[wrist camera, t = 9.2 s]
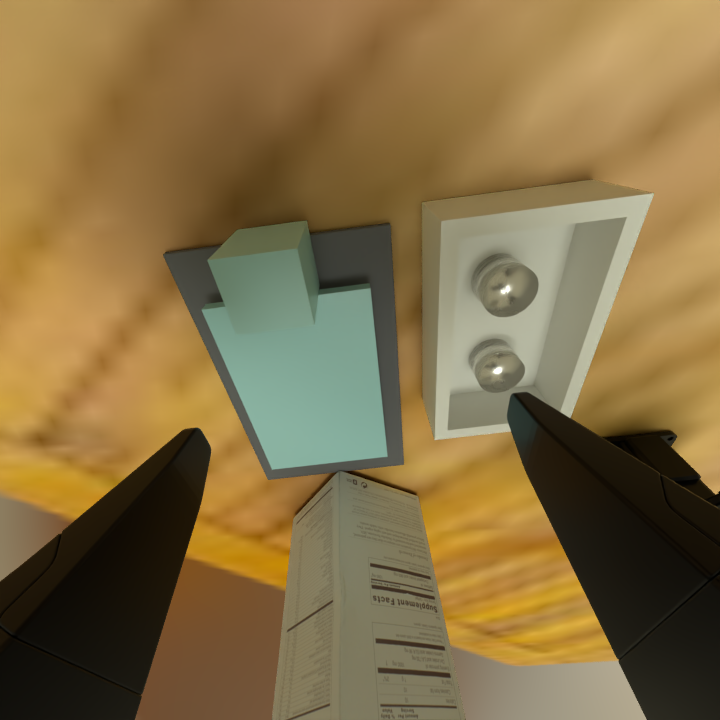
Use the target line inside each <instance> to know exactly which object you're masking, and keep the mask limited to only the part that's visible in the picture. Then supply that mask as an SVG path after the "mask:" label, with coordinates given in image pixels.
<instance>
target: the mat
mask: <svg viewBox="0 0 720 720" xmlns="http://www.w3.org/2000/svg"><path fill="white" fill-rule="evenodd" d="M310 238H311V243H312V249H313V254H314V259H315V264H316V269H317V274H318V279H319V284H320V287H319V290H320V289H328V288H335V287H343V286H351V285H359V284H367V283H370V288H371V298H372V308H373V318H374V328H375V338H376V347H377V357H378V367H379V377H380V387H381V397H382V407H383V416H384V426H385V436H386V446H387V456H388V457H380V458H371V459H362V460H353V461H344V462H335V463H327V464H318V465H309V466H300V467H291V468H282V469H273V470H272V468H271V466H270V464H269V461H268V459H267V457H266V455H265V452H264V450H263V448H262V446H261V443H260V441H259V439H258V437H257V434H256V432H255V430H254V428H253V425H252V423H251V421H250V418H249V416H248V414H247V412H246V409H245V407H244V405H243V403H242V400H241V398H240V396H239V394H238V391H237V389H236V387H235V385H234V382H233V380H232V378H231V376H230V373H229V371H228V369H227V367H226V364H225V362H224V360H223V357H222V355H221V353H220V351H219V348H218V346H217V344H216V342H215V339H214V337H213V335H212V333H211V330H210V328H209V326H208V324H207V321H206V319H205V317H204V315H203V312H202V308H203V307H204V306H205V304H210V303H218V302H223V299H222V297H221V294H220V292H219V289H218V286H217V284H216V281H215V279H214V276H213V274H212V271H211V269H210V266H209V263H208V261H207V260H208V259H209V258H210V257H211V256H212V255H213V254H214V253H215V252H216V251H217V250H218V249H219V248H220V247H221V246H222V245H218V246H210V247H203V248H195V249H187V250H180V251H172V252H166V253H165V254H163V256H164V258H165V260H166V263H167V265H168V267H169V269H170V271H171V273H172V275H173V278H174V280H175V282H176V284H177V286H178V288H179V290H180V293H181V295H182V297H183V299H184V301H185V303H186V305H187V307H188V310H189V312H190V314H191V316H192V318H193V320H194V322H195V325H196V327H197V329H198V331H199V333H200V335H201V337H202V340H203V342H204V344H205V346H206V348H207V350H208V352H209V355H210V357H211V359H212V361H213V363H214V365H215V367H216V370H217V372H218V374H219V376H220V378H221V380H222V382H223V384H224V387H225V389H226V391H227V393H228V395H229V397H230V399H231V402H232V404H233V406H234V408H235V410H236V412H237V414H238V417H239V419H240V421H241V423H242V425H243V427H244V429H245V432H246V434H247V436H248V438H249V440H250V442H251V444H252V447H253V449H254V451H255V453H256V455H257V457H258V459H259V462H260V464H261V466H262V468H263V470H264V472H265V474H266V476H267V479H268V480H271V479H280V478H289V477H298V476H307V475H316V474H325V473H334V472H338V471H352V470H361V469H370V468H379V467H387V466H396V465H404V457H403V440H402V422H401V404H400V386H399V368H398V350H397V332H396V315H395V297H394V279H393V261H392V243H391V225H390V223H385V224H378V225H370V226H362V227H355V228H347V229H340V230H332V231H324V232H317V233H310Z"/></svg>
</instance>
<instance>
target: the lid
mask: <svg viewBox="0 0 720 720" xmlns="http://www.w3.org/2000/svg"><path fill="white" fill-rule="evenodd" d="M207 261H208V263H209V266H210V269H211V271H212V274H213V276H214V279H215V281H216V284H217V286H218V289H219V292H220V294H221V297H222V299H223V302H218V303H210V304H205V306H204V307H203V308H202V312H203V315H204V317H205V319H206V321H207V324H208V326H209V328H210V330H211V333H212V335H213V337H214V339H215V342H216V344H217V346H218V348H219V351H220V353H221V355H222V357H223V360H224V362H225V364H226V367H227V369H228V371H229V373H230V376H231V378H232V380H233V382H234V385H235V387H236V389H237V391H238V394H239V396H240V398H241V400H242V403H243V405H244V407H245V409H246V412H247V414H248V416H249V418H250V421H251V423H252V425H253V428H254V430H255V432H256V434H257V437H258V439H259V441H260V443H261V446H262V448H263V450H264V452H265V455H266V457H267V459H268V461H269V464H270V466H271V468H272V470H273V469H282V468H291V467H300V466H309V465H318V464H327V463H335V462H344V461H353V460H362V459H371V458H380V457H388V456H387V446H386V436H385V426H384V416H383V407H382V397H381V387H380V377H379V367H378V357H377V347H376V338H375V328H374V318H373V308H372V298H371V288H370V283H367V284H359V285H351V286H343V287H335V288H328V289H320V290H319V287H320V284H319V279H318V274H317V269H316V264H315V259H314V254H313V249H312V243H311V238H310V233H309V228H308V223H307V220H306V221H298V222H291V223H283V224H276V225H268V226H261V227H253V228H246V229H238V230H236V231H235V232H234V233H233V234H232V235H231V236H230V237H229V238H228V239H227V240H226V241H225V242H224V244H223V245H222V246H221V247H220V248H219V249H218V250H217V251H216V252H215V253H214V254H213V255H212V256H211V257H210V258H209V259H208V260H207Z"/></svg>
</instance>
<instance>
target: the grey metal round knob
mask: <svg viewBox="0 0 720 720" xmlns="http://www.w3.org/2000/svg"><path fill="white" fill-rule="evenodd" d="M538 287H539V282H538V278H537V276H536V274H535V273H534V272H533V271H532V270H531V269H529V268H528V267H527V266H525V265H524V264H523V263H521V262H520V261H519V260H518V259H516V258H515V257H514V256H512V255H509V254H504V253H501V254H495V255H492V256H490V257H488V258H486V259H485V260H483V261H482V262H481V263H480V264H479V265H478V266H477V267H476V269H475V271H474V272H473V275H472V278H471V288H472V291H473V293H474V295H475V296H476V297H477V298H478V300H479V301H480V302H481V303H482V305H483V306H484V307H485V309H486V310H487V311H488V312H489V313H490V314H492V315H494V316H496V317H510V316H514V315H516V314H518V313H520V312H522V311H523V310H525V309H526V308H527V307H528V306H529V305H530V304H531V303H532V302H533V300H534V299H535V297H536V295H537V292H538Z"/></svg>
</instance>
